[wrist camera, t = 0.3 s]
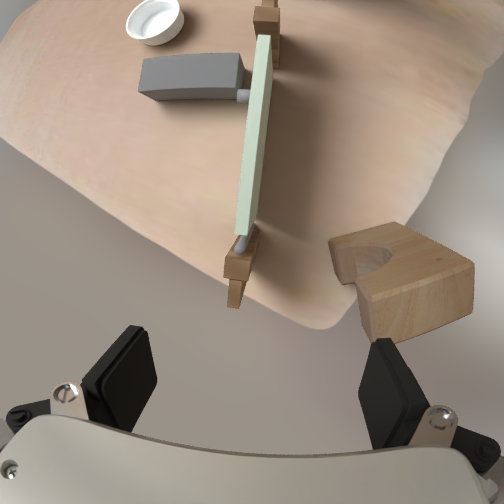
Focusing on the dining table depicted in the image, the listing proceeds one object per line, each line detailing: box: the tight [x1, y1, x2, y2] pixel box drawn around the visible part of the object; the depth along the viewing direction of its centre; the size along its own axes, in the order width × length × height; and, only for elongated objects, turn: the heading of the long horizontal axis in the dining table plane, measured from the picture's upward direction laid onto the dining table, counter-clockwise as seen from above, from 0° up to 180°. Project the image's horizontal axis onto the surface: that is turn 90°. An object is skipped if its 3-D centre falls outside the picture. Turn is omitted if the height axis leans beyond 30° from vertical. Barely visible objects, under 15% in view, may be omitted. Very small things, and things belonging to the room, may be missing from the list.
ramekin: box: [126, 0, 184, 46], centre depth 30 cm, size 9×9×4 cm
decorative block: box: [328, 222, 474, 344], centre depth 30 cm, size 11×6×20 cm, turn 106°
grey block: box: [138, 53, 245, 101], centre depth 32 cm, size 5×13×6 cm, turn 85°
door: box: [234, 35, 273, 255], centre depth 30 cm, size 22×3×13 cm, turn 174°
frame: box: [223, 0, 280, 309], centre depth 30 cm, size 35×2×14 cm, turn 174°
